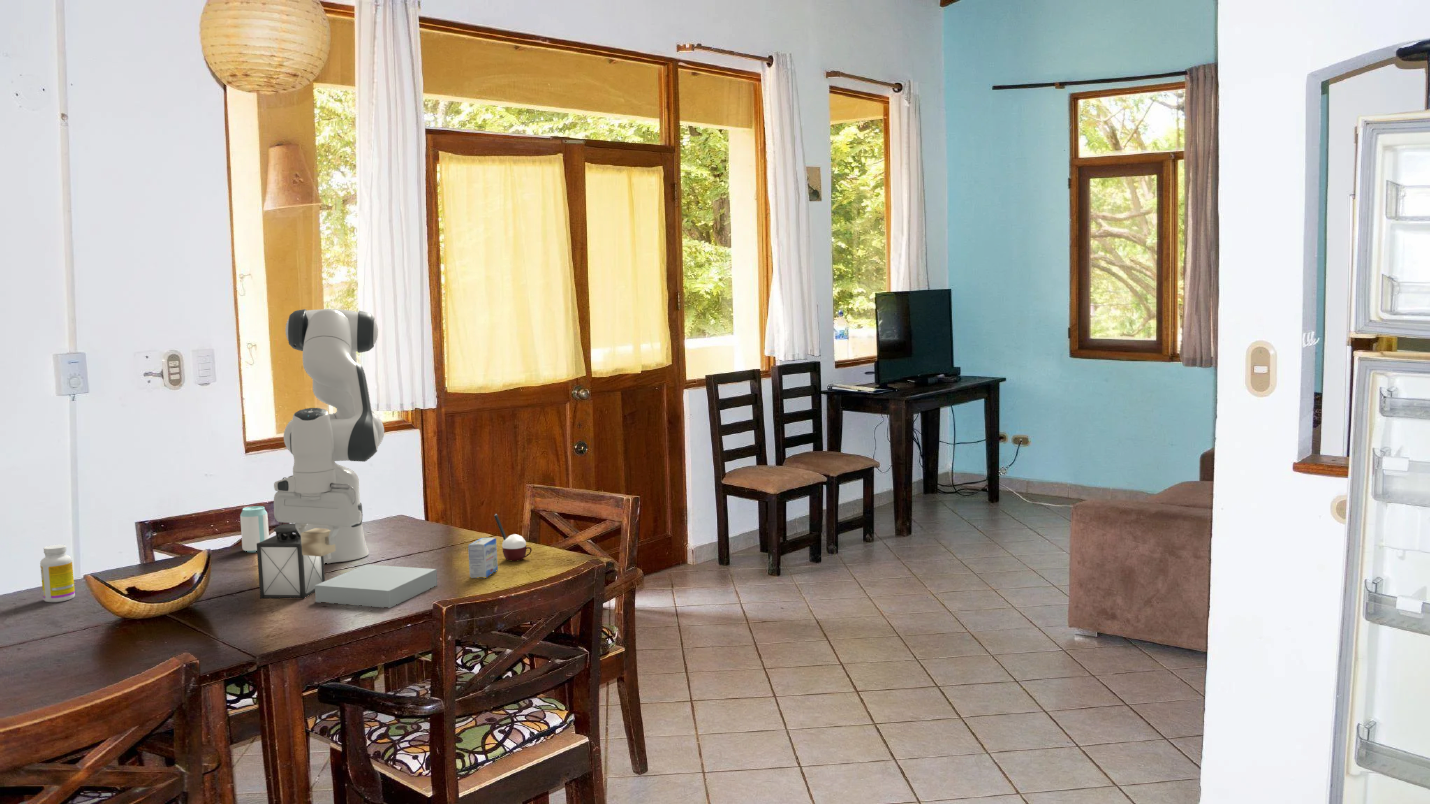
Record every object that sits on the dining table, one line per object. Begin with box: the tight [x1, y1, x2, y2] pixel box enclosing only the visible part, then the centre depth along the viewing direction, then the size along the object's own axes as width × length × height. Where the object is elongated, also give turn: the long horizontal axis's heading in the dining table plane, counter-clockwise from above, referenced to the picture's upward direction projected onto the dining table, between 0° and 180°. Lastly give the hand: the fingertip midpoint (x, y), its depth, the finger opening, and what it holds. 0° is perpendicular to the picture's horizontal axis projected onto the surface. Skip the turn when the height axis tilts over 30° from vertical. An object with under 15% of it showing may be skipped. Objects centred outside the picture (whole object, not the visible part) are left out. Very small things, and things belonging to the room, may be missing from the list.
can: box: [239, 505, 270, 553], centre depth 322 cm, size 7×7×12 cm
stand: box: [314, 564, 438, 609], centre depth 275 cm, size 20×20×4 cm
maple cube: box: [301, 528, 335, 556], centre depth 257 cm, size 5×5×5 cm
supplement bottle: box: [39, 544, 76, 603], centre depth 275 cm, size 7×7×13 cm
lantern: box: [256, 477, 326, 599], centre depth 276 cm, size 11×11×28 cm
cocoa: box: [493, 513, 533, 562], centre depth 305 cm, size 10×6×12 cm, turn 62°
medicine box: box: [467, 537, 499, 579], centre depth 290 cm, size 8×4×9 cm, turn 168°
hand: (318, 543), depth 257 cm, fingers closed on maple cube, 5 cm apart
